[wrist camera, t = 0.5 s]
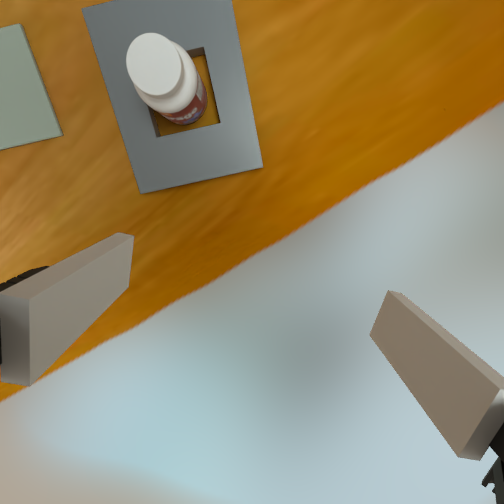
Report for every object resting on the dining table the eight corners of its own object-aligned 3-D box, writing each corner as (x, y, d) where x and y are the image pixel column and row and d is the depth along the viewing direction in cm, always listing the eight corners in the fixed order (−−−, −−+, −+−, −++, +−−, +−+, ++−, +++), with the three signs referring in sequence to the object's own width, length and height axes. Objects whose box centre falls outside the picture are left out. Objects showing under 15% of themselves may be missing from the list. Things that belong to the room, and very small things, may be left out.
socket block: (91, 18, 31) (81, 8, 29) (227, -16, 31) (226, -29, 29) (146, 192, 37) (140, 193, 35) (262, 167, 36) (263, 167, 34)
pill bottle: (161, 126, 35) (122, 106, 24) (154, 71, 33) (109, 22, 22) (210, 124, 35) (193, 103, 24) (205, 68, 33) (185, 19, 22)
